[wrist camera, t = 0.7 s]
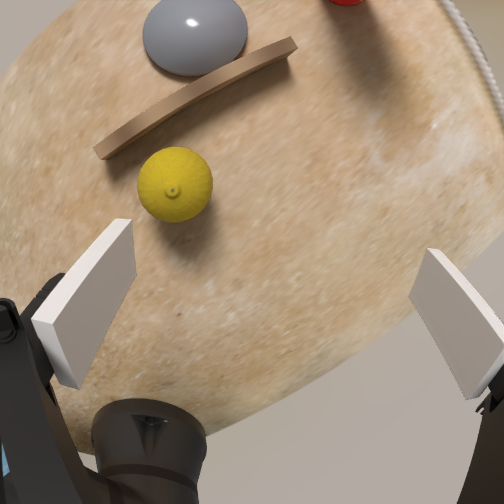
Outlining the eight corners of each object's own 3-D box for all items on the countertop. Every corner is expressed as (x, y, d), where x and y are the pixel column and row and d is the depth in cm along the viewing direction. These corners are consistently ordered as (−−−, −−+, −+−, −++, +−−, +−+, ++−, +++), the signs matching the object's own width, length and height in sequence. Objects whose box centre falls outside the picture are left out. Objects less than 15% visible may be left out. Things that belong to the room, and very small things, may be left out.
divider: (109, 158, 24) (100, 160, 21) (102, 147, 24) (92, 147, 21) (287, 57, 24) (298, 47, 21) (280, 46, 24) (290, 36, 21)
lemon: (193, 220, 27) (195, 247, 20) (135, 197, 26) (115, 215, 18) (220, 162, 26) (232, 167, 19) (161, 137, 25) (149, 131, 17)
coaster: (173, 95, 24) (173, 93, 23) (127, 21, 20) (125, 18, 20) (264, 49, 24) (266, 46, 23) (215, -21, 20) (216, -25, 20)
